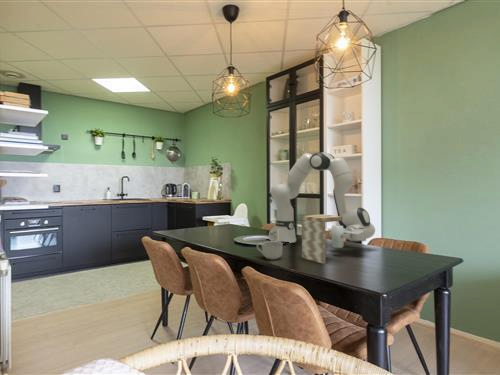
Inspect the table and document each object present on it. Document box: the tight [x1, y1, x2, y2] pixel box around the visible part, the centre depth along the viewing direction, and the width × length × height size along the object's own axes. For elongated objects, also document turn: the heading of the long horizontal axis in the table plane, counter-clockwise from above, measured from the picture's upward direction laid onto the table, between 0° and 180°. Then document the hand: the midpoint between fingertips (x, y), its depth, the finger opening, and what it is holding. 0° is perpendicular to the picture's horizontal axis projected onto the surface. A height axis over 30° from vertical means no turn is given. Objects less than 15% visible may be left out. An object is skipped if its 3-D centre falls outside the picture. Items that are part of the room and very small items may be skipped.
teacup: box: [256, 240, 284, 261], centre depth 161 cm, size 14×11×8 cm
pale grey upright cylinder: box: [331, 224, 344, 249], centre depth 164 cm, size 6×6×11 cm
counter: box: [301, 213, 342, 265], centre depth 158 cm, size 15×14×22 cm
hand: (336, 235), depth 164 cm, fingers closed on pale grey upright cylinder, 6 cm apart
